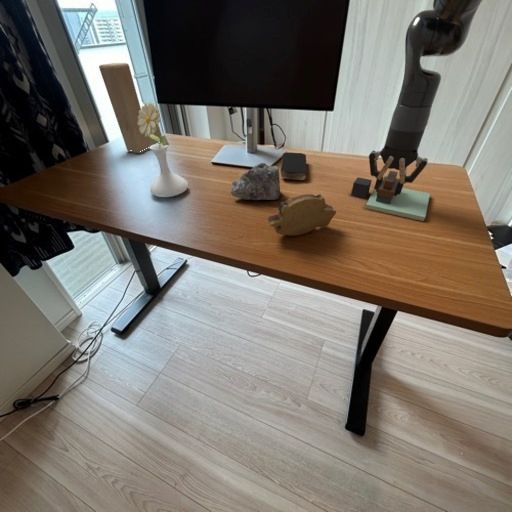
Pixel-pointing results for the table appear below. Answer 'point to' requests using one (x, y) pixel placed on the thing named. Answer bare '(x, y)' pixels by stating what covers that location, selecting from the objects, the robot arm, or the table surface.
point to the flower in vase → (160, 154)
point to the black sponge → (293, 166)
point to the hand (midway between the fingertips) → (386, 192)
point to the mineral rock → (258, 183)
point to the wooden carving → (302, 215)
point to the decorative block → (126, 106)
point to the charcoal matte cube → (361, 187)
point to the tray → (403, 204)
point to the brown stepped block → (387, 188)
